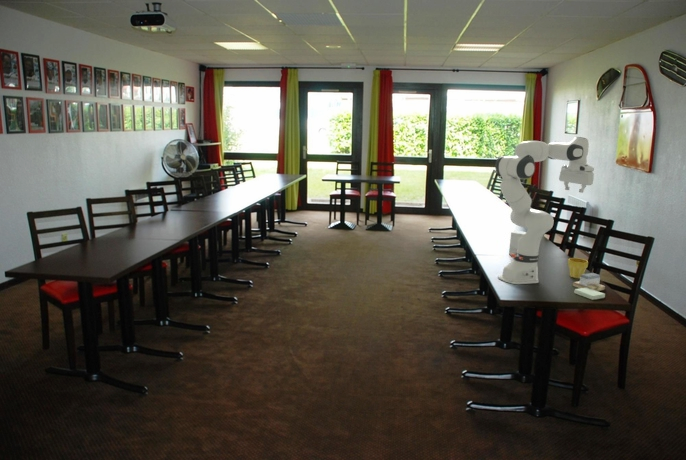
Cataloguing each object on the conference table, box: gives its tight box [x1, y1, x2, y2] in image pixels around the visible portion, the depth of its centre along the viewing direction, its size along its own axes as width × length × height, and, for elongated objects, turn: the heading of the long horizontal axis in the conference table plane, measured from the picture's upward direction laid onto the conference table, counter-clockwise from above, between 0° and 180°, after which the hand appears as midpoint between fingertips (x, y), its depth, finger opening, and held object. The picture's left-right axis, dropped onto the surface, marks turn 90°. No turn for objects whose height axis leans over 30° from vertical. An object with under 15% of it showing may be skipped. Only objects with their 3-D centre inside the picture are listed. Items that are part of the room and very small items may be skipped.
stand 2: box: [573, 287, 606, 300], centre depth 276 cm, size 9×11×2 cm
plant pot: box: [567, 257, 589, 279], centre depth 307 cm, size 10×10×10 cm
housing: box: [579, 272, 601, 286], centre depth 288 cm, size 10×5×5 cm, turn 118°
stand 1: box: [572, 280, 606, 292], centre depth 288 cm, size 11×11×2 cm
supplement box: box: [508, 230, 527, 256], centre depth 352 cm, size 9×9×15 cm
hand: (574, 191), depth 305 cm, fingers open, 8 cm apart
